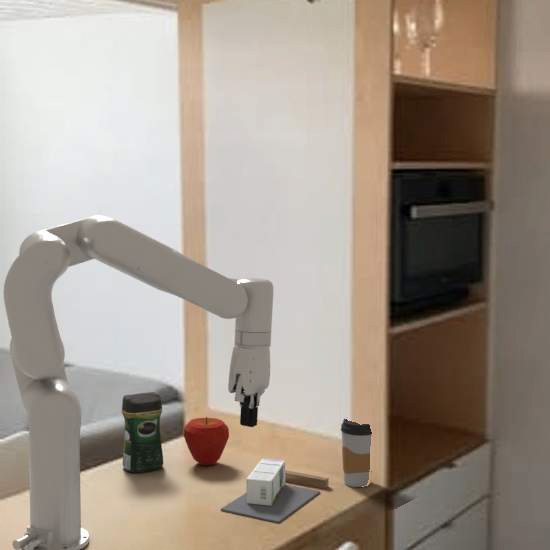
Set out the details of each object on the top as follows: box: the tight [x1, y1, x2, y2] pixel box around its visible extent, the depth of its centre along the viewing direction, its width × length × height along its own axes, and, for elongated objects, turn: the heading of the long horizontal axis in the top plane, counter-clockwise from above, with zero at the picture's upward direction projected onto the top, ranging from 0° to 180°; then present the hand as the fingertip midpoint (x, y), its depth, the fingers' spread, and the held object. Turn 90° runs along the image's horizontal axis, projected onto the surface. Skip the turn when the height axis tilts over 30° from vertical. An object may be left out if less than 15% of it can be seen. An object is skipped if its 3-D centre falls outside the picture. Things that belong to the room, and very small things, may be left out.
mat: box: [220, 483, 321, 524], centre depth 194 cm, size 20×14×1 cm
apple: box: [183, 416, 230, 466], centre depth 217 cm, size 11×11×12 cm
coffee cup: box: [340, 418, 372, 488], centre depth 205 cm, size 8×8×15 cm
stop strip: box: [285, 469, 330, 489], centre depth 206 cm, size 2×14×2 cm, turn 62°
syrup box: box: [246, 458, 286, 506], centre depth 197 cm, size 6×6×14 cm
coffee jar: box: [121, 391, 164, 474], centre depth 214 cm, size 10×8×19 cm
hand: (248, 425), depth 183 cm, fingers closed
